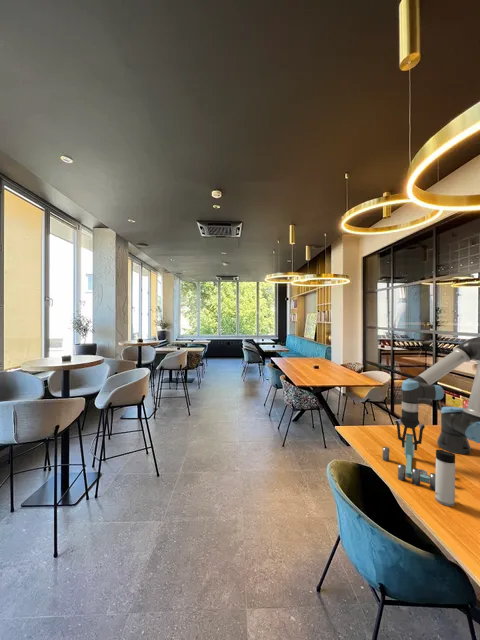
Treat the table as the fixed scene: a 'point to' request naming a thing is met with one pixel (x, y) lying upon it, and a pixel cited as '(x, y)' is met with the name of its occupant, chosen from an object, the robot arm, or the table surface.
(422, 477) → the teal bent bar
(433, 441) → the table surface
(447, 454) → the travel mug
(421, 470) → the hexagonal star block
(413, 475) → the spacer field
